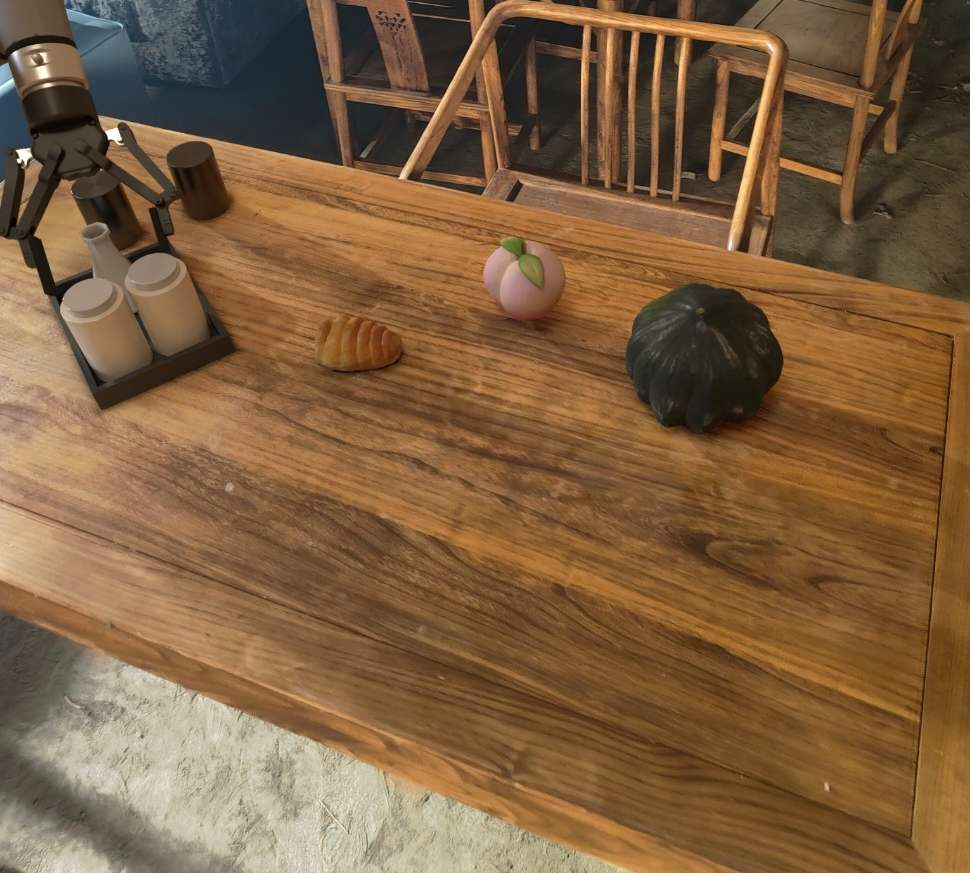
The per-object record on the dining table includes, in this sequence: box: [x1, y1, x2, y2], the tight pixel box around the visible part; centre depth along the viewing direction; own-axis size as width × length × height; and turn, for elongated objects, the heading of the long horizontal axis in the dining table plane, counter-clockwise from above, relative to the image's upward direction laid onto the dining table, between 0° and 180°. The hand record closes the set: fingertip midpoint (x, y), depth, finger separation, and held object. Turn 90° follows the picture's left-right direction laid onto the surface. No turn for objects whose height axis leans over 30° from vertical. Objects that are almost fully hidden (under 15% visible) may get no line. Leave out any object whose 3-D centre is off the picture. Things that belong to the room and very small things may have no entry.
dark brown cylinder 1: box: [70, 169, 143, 251], centre depth 118 cm, size 6×6×8 cm
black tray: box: [46, 237, 236, 411], centre depth 108 cm, size 22×16×3 cm
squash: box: [624, 282, 785, 435], centre depth 90 cm, size 14×15×15 cm
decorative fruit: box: [482, 236, 567, 322], centre depth 101 cm, size 9×8×10 cm
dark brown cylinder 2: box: [165, 140, 231, 221], centre depth 121 cm, size 6×6×8 cm
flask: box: [78, 222, 137, 313], centre depth 108 cm, size 7×7×10 cm
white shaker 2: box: [125, 253, 211, 356], centre depth 102 cm, size 7×7×10 cm
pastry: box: [313, 314, 403, 372], centre depth 101 cm, size 9×7×4 cm
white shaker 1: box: [60, 278, 153, 383], centre depth 100 cm, size 7×7×10 cm
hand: (111, 280), depth 106 cm, fingers open, 13 cm apart
